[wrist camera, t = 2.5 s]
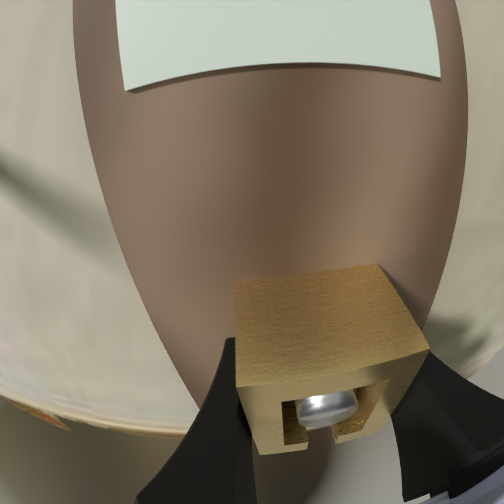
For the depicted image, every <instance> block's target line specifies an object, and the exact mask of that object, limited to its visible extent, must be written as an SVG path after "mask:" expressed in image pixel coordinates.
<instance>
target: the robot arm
mask: <svg viewBox="0 0 504 504" xmlns="http://www.w3.org/2000/svg"><path fill="white" fill-rule="evenodd" d="M390 416H391V419H392V423H393V427H394V431H395V436H396V441H397V446H398V451H399V458H400V466H401V476H402V496H403V500H404V502H407V501H410V500H413V499H416V498H418V497H421V496H424V495H426V494H428V493H429V494H430V497H431V498H430V499H428V500H426V501H424V502H421V503H419V504H504V399H501V398H499V397H497V396H495V395H493V394H490V393H489V392H487V391H485V390H483V389H481V388H479V387H478V386H476V385H474V384H473V383H471V382H469V381H468V380H466V379H465V378H463V377H462V376H460V375H459V374H457V373H456V372H455V371H453V370H452V369H450V368H449V367H448V366H447V365H445V364H444V363H443V362H442V361H440V360H439V359H438V358H437V357H436V356H434V355H433V354H432V353H431V352H430V351H429V353H428V354H427V356H426V358H425V360H424V362H423V364H422V366H421V367H420V369H419V371H418V373H417V374H416V376H415V378H414V380H413V381H412V383H411V385H410V386H409V388H408V390H407V391H406V393H405V394H404V396H403V397H402V399H401V401H400V402H399V404H398V405H397V407H396V408H395V410H394V411H393V413H392V414H391V415H390ZM134 504H257V497H256V488H255V478H254V468H253V456H252V432H251V429H250V427H249V424H248V421H247V418H246V415H245V412H244V410H243V407H242V404H241V401H240V398H239V395H238V392H237V389H236V350H235V337H232V338H227V339H226V340H225V344H224V348H223V352H222V356H221V359H220V362H219V365H218V368H217V371H216V374H215V376H214V379H213V381H212V384H211V387H210V389H209V391H208V394H207V396H206V398H205V400H204V402H203V404H202V407H201V409H200V411H199V413H198V415H197V416H196V418H195V420H194V422H193V424H192V425H191V427H190V429H189V431H188V432H187V434H186V435H185V437H184V438H183V440H182V442H181V443H180V445H179V446H178V448H177V449H176V450H175V452H174V453H173V455H172V456H171V457H170V458H169V460H168V461H167V462H166V464H165V465H164V466H163V467H162V469H161V470H160V471H159V472H158V473H157V475H156V476H155V477H154V478H153V479H152V480H151V481H150V482H149V483H148V484H147V485H146V486H145V487H144V488H143V489H142V490H141V491H140V492H139V493H138V494H137V496H136V500H135V503H134Z"/></svg>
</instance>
